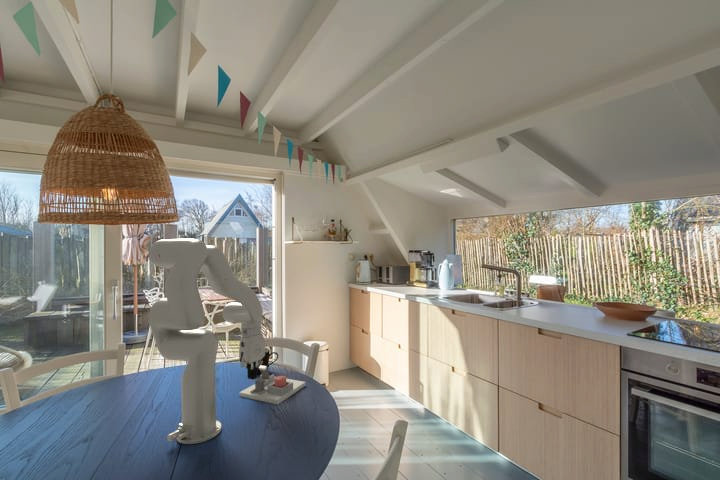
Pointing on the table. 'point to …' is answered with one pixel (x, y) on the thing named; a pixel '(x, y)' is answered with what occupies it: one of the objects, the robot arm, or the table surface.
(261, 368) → the lever
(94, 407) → the table surface
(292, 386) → the panel
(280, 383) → the button
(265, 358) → the coffee mug
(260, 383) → the slider
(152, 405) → the table surface
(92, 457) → the table surface
